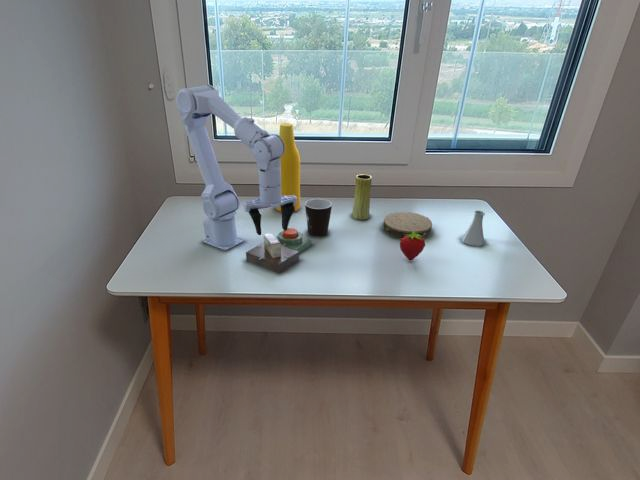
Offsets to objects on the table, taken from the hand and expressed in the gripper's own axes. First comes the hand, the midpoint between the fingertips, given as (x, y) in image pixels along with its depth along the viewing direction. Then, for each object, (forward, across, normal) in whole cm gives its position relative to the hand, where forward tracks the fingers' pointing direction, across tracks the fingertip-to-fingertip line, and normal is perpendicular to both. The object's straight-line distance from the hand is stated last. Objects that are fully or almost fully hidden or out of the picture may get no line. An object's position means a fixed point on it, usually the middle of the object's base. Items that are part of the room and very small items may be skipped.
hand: (271, 231), depth 125 cm
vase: (+10, +40, +18) cm, 45 cm away
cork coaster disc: (+10, +49, +3) cm, 50 cm away
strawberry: (+10, +38, -15) cm, 42 cm away
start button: (+6, +8, +7) cm, 13 cm away
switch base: (+9, 0, 0) cm, 9 cm away
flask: (+10, +64, -13) cm, 66 cm away
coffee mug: (+10, +21, +13) cm, 27 cm away
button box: (+9, +8, +7) cm, 15 cm away
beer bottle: (+10, +19, +35) cm, 41 cm away
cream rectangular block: (+6, 0, 0) cm, 6 cm away
